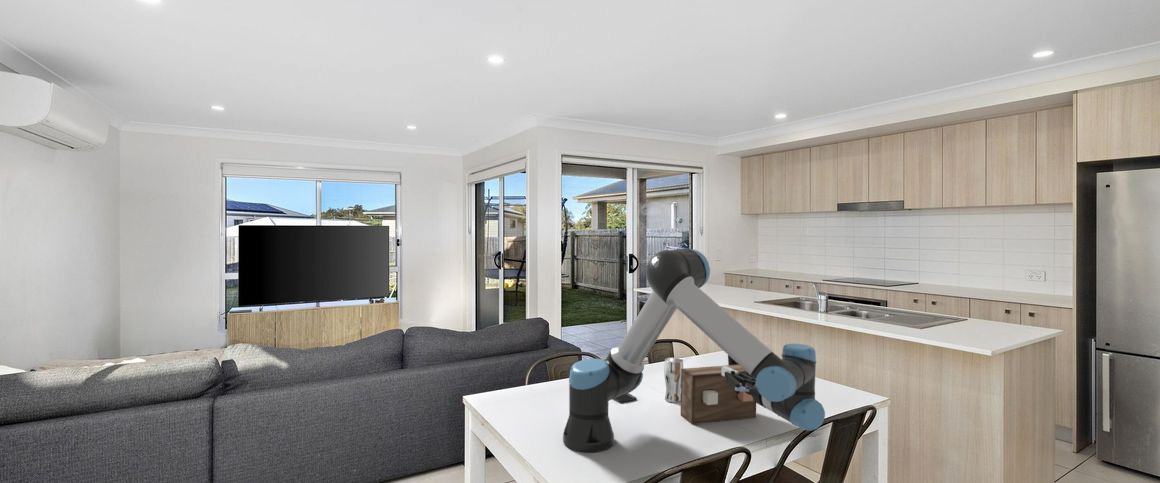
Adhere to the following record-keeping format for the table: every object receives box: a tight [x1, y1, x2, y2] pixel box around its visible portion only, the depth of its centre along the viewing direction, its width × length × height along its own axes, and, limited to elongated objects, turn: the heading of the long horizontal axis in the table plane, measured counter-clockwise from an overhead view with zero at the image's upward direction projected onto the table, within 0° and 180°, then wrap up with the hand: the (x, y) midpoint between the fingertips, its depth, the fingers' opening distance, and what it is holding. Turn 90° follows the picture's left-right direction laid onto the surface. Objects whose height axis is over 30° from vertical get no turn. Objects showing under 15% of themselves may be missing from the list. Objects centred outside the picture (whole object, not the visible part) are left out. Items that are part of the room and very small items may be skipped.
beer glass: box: [663, 357, 684, 404], centre depth 188 cm, size 7×7×15 cm
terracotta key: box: [737, 391, 753, 402], centre depth 170 cm, size 6×4×4 cm, turn 16°
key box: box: [680, 364, 757, 425], centre depth 173 cm, size 8×24×16 cm, turn 106°
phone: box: [612, 393, 637, 404], centre depth 193 cm, size 8×1×15 cm
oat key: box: [702, 389, 718, 405], centre depth 167 cm, size 6×4×4 cm, turn 16°
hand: (724, 370), depth 157 cm, fingers closed
